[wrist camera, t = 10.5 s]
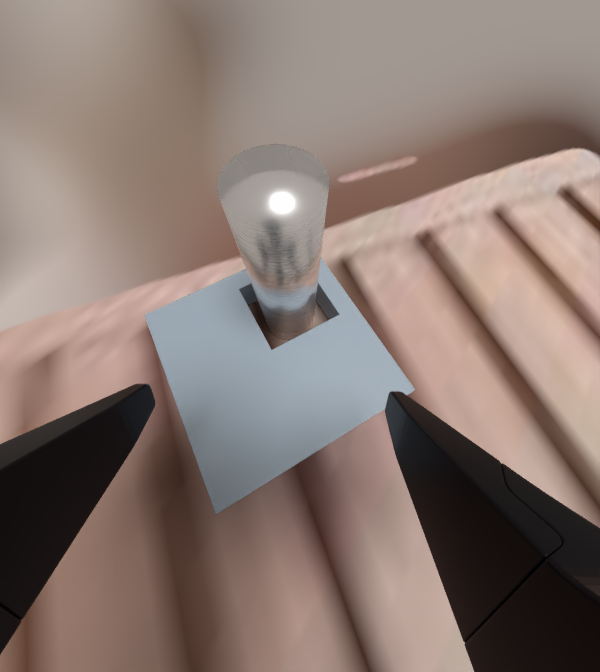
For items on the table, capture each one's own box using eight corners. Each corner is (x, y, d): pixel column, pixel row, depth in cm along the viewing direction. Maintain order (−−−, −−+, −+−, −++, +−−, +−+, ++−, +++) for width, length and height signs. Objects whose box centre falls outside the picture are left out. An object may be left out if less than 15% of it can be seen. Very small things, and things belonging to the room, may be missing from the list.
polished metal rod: (322, 310, 21) (349, 168, 9) (297, 348, 20) (289, 243, 8) (283, 289, 22) (259, 131, 10) (256, 324, 21) (193, 194, 9)
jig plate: (398, 393, 19) (415, 389, 16) (230, 497, 16) (215, 514, 14) (307, 261, 23) (308, 240, 20) (165, 328, 21) (144, 315, 18)
